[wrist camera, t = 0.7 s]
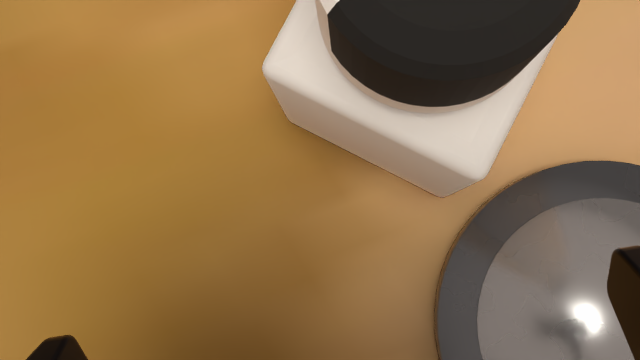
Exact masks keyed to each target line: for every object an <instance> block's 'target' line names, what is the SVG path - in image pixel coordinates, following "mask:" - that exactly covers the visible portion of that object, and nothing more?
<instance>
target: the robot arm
mask: <svg viewBox="0 0 640 360" xmlns="http://www.w3.org/2000/svg"><path fill="white" fill-rule="evenodd" d="M607 293H608V297H609V300H610V302H611V304H612V307H613V309H614V312H615V314H616V316H617V319H618V321H619V324H620V326H621V328H622V331H623V333H624V335H625V338H626V340H627V343H628V345H629V347H630V350H631V352H632V355H633V357H634V359H635V360H640V246H638V245H636V246H629V247H623V248H617V249H615V250H614V251H613V253H612V256H611V261H610V267H609V273H608V279H607ZM26 360H88V359H87V357H86V356H85V354H84V352H83V351H82V349H81V347H80V346H79V344H78V342H77V341H76V339H75V338H74V337H73V336H71V335H64V336H57V337H51V338H48V339H46V340H44V341H43V342H42V343H41V344H40V345H39V346H38V347H37V348H36V349H35V350H34V351H33V353H32V354H31V355H30V356H29V357H28V358H27V359H26Z"/></svg>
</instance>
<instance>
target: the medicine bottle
mask: <svg viewBox="0 0 640 360" xmlns="http://www.w3.org/2000/svg"><path fill="white" fill-rule="evenodd" d="M579 2H580V0H297V1H296V3H295V4H294V6H293V8H292V10H291V12H290V14H289V16H288V17H287V19H286V21H285V23H284V25H283V27H282V29H281V30H280V32H279V34H278V36H277V38H276V40H275V42H274V43H273V45H272V47H271V49H270V51H269V53H268V55H267V57H266V58H265V60H264V62H263V66H262V70H263V74H264V76H265V78H266V80H267V82H268V83H269V85H270V87H271V89H272V91H273V93H274V94H275V96H276V98H277V100H278V102H279V104H280V106H281V107H282V109H283V111H284V113H285V115H286V117H287V119H288V120H289V121H290V122H292V123H294V124H296V125H298V126H300V127H301V128H303V129H305V130H307V131H309V132H311V133H313V134H315V135H317V136H319V137H321V138H323V139H325V140H327V141H329V142H331V143H333V144H335V145H337V146H339V147H341V148H343V149H345V150H347V151H349V152H351V153H353V154H355V155H357V156H359V157H361V158H363V159H365V160H367V161H369V162H370V163H372V164H374V165H376V166H378V167H380V168H382V169H384V170H386V171H388V172H390V173H392V174H394V175H396V176H398V177H400V178H402V179H404V180H406V181H408V182H410V183H412V184H414V185H416V186H418V187H420V188H422V189H424V190H426V191H428V192H430V193H432V194H434V195H436V196H438V197H442V198H443V197H446V196H449V195H451V194H453V193H455V192H457V191H459V190H461V189H463V188H466V187H468V186H470V185H472V184H474V183H476V182H478V181H480V180H483V179H484V178H485V177H486V175H487V174H488V172H489V171H490V169H491V167H492V165H493V163H494V161H495V159H496V157H497V155H498V153H499V151H500V149H501V147H502V145H503V143H504V141H505V139H506V137H507V135H508V133H509V131H510V129H511V127H512V125H513V123H514V121H515V119H516V117H517V115H518V113H519V111H520V109H521V107H522V105H523V103H524V101H525V99H526V97H527V95H528V93H529V91H530V89H531V87H532V85H533V83H534V81H535V79H536V77H537V75H538V73H539V71H540V69H541V67H542V65H543V63H544V61H545V59H546V57H547V55H548V53H549V51H550V49H551V47H552V45H553V43H554V41H555V39H556V37H557V35H558V33H559V32H560V31H561V29H562V28H563V27H564V26H565V25H566V24H567V22H568V21H569V19H570V17H571V16H572V14H573V13H574V11H575V10H576V8H577V6H578V4H579Z"/></svg>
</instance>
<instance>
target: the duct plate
mask: <svg viewBox="0 0 640 360" xmlns="http://www.w3.org/2000/svg"><path fill="white" fill-rule="evenodd" d="M636 245H638V246H640V166H639V165H635V164H630V163H623V162H614V161H583V162H576V163H569V164H563V165H560V166H556V167H553V168H549V169H546V170H542V171H540V172H537V173H535V174H532V175H530V176H528V177H525V178H523V179H520V180H518V181H516V182H514V183H513V184H511V185H509V186H508V187H506V188H504V189H503V190H501V191H499V192H498V193H497V194H496V195H494V196H493V197H492V198H491V199H489V200H488V201H487V202H486V203H484V204H483V205H482V206H481V207H480V208H479V209H478V210H477V211H476V213H475V214H474V215H473V216H472V217H471V218H470V219H469V220H468V222H467V223H466V224H465V226H464V227H463V228H462V230H461V231H460V232H459V234H458V235H457V237H456V239H455V241H454V243H453V245H452V246H451V248H450V250H449V252H448V254H447V257H446V260H445V262H444V265H443V267H442V270H441V274H440V278H439V282H438V286H437V290H436V299H435V309H434V322H435V337H436V344H437V350H438V355H439V358H440V360H635V359H634V357H633V355H632V352H631V350H630V347H629V345H628V343H627V340H626V338H625V335H624V333H623V331H622V328H621V326H620V324H619V321H618V319H617V316H616V314H615V312H614V309H613V307H612V304H611V302H610V300H609V297H608V293H607V279H608V273H609V267H610V261H611V256H612V253H613V251H614V250H615V249H617V248H623V247H629V246H636Z"/></svg>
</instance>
